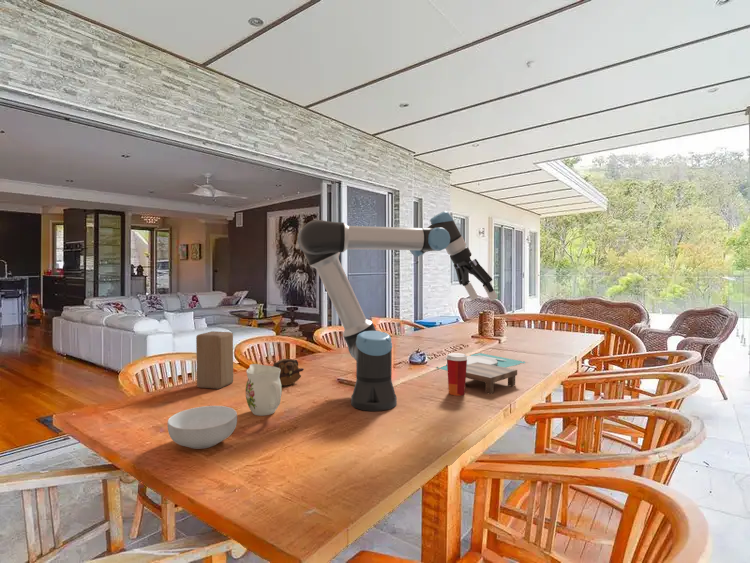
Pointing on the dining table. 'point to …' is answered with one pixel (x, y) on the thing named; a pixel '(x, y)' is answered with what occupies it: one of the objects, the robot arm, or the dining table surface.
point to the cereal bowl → (202, 426)
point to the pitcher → (263, 389)
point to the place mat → (489, 360)
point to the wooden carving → (288, 371)
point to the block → (214, 359)
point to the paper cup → (456, 373)
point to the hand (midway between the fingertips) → (484, 299)
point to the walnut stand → (490, 374)
